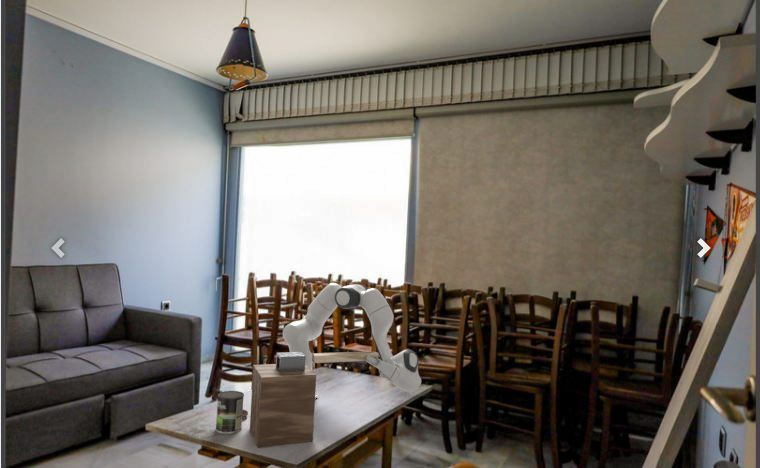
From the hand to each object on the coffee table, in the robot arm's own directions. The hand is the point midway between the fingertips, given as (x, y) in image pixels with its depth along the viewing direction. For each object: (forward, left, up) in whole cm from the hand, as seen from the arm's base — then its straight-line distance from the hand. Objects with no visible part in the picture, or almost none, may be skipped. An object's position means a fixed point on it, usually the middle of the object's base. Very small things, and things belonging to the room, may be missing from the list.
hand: (364, 355), depth 212 cm
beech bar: (0, -8, -2) cm, 8 cm away
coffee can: (-12, -53, -31) cm, 62 cm away
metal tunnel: (0, -32, -4) cm, 32 cm away
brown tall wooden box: (0, -34, -30) cm, 46 cm away
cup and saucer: (-26, -49, -31) cm, 64 cm away
